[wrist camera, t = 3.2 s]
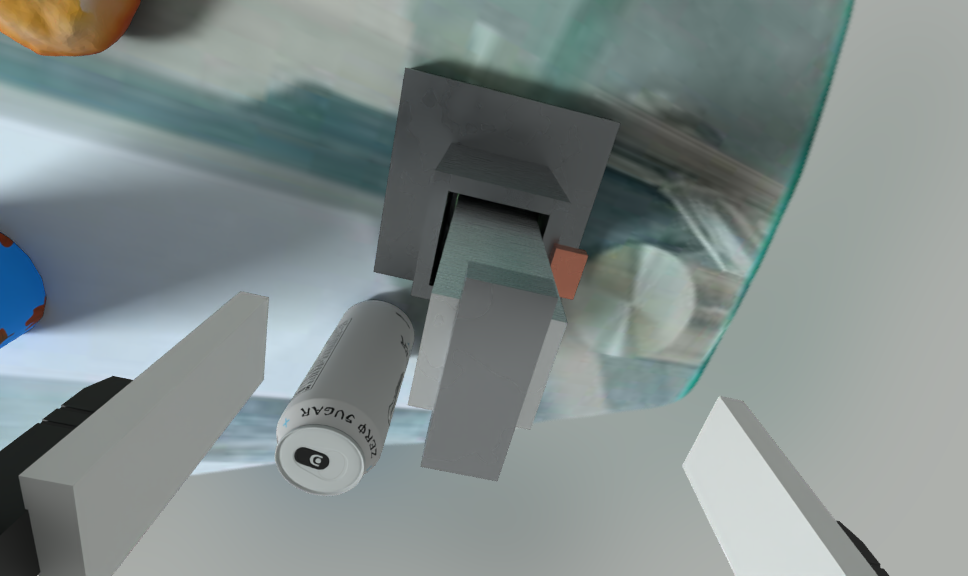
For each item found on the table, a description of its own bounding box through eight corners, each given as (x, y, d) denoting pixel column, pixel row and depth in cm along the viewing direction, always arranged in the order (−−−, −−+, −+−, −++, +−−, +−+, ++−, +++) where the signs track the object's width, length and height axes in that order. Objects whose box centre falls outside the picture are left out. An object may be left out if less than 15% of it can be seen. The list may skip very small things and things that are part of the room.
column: (468, 149, 31) (430, 269, 12) (531, 164, 32) (592, 305, 12) (449, 240, 34) (391, 460, 15) (506, 253, 34) (525, 486, 15)
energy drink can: (400, 369, 41) (355, 517, 27) (333, 343, 40) (251, 482, 26) (427, 312, 39) (391, 442, 25) (356, 283, 38) (279, 401, 24)
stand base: (410, 68, 32) (361, 64, 20) (613, 120, 33) (680, 145, 21) (379, 262, 37) (327, 348, 25) (553, 301, 38) (580, 401, 27)
